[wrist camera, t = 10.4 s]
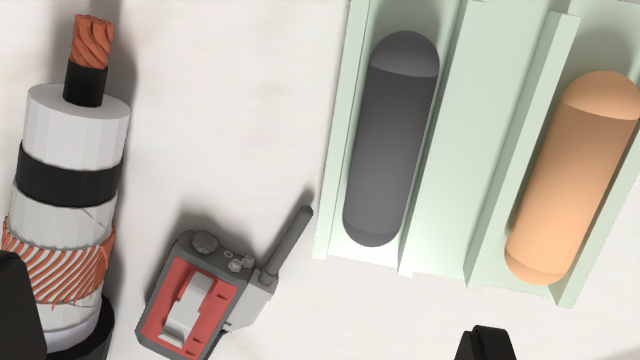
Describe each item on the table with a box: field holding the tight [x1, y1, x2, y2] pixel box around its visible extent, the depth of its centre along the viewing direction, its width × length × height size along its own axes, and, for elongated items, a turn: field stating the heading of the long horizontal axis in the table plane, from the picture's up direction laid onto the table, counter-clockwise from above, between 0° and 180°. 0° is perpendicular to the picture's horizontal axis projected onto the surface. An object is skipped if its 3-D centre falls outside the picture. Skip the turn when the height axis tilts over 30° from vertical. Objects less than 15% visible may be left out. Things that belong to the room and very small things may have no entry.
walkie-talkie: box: [135, 206, 313, 360], centre depth 37 cm, size 9×4×20 cm
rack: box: [312, 0, 640, 309], centre depth 29 cm, size 20×18×3 cm
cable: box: [1, 14, 131, 360], centre depth 34 cm, size 10×34×10 cm, turn 158°
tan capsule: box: [504, 70, 640, 286], centre depth 28 cm, size 14×4×4 cm, turn 172°
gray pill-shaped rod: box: [342, 30, 440, 247], centre depth 28 cm, size 14×4×4 cm, turn 172°
